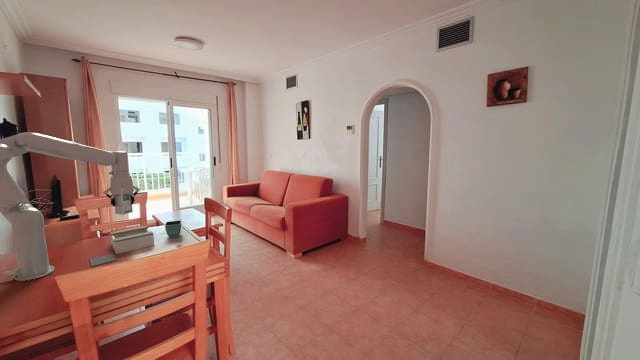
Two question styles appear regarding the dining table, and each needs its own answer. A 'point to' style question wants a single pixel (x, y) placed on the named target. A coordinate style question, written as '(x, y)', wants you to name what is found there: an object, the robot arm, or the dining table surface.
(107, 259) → the placing mat
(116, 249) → the slotted crate
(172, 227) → the flower pot
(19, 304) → the dining table surface
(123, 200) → the syrup box
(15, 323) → the dining table surface
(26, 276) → the robot arm
